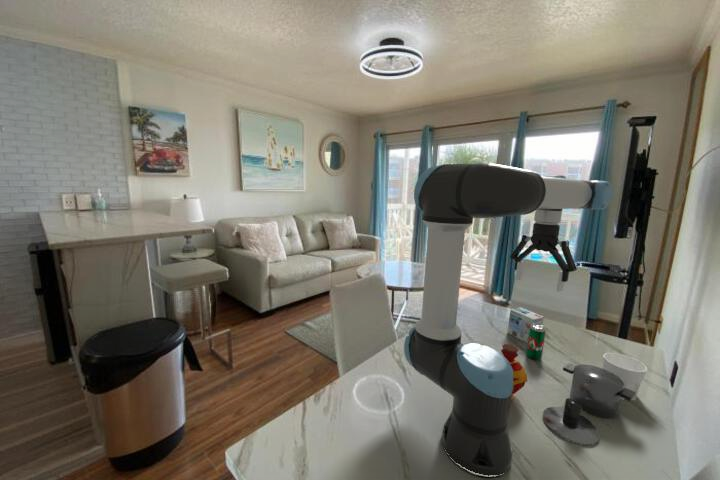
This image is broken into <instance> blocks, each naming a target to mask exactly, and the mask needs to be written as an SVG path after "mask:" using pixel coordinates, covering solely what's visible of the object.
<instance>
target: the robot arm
mask: <svg viewBox="0 0 720 480" xmlns="http://www.w3.org/2000/svg"><path fill="white" fill-rule="evenodd" d="M612 196H613V185H612V184H611V182H610V181H608V180H607V181H606V180H598V179H597V180H596V179H595V180H583V179H572V178H567V176H565V175H561V174H560V175H556V174H547V175H546V174H545V175H544V174H543V175H540V173H538V172H536V171H534V170H531V169H524V168H520V167H514V166H511V165H509V166H508V165H503V164H498V163H492V162H491V163H490V162H478V163H449V164H448V163H446V164H445V163H444V164H440V165H433V166H430V167H429V168H426V169H425V170H424V172H423V173H422V174H420V176H419V177H418V178H417V181H416V183H415V186H414V190H413V198H414V199H413V200H414V203H415V205H416V207H417V209H418V210H419V211H420V212H422V222H423V223H424V225H425V226H426V227H427V238H426V250H425V251H426V253H425V265H424V279H423V293H422V295H423V296H422V307H421V318H420V319H418V321H416V322H415V325H414V326H413V327H412V328H410V330H409V332H408V336H405V339H404V340H405V341H404V344H403V351H404V357H405V359H406V361H407V363H408V364H409V365H410V366H411V367H412V368H413V369H414V370H415V371H416V372H417V373H419V374H420V375H422V376H424V377H426V378H427V379H429V381H432V382H433V383H434V384H436V386H438V387H439V388H441V389H442V390H444V391H445V392H446V393H448V394H450V395H451V396H452V398H453V399H452V410H451V411H450V413H449V416H448V417H447V419H446V420H445V423H444V425H443V427H442V431H441V432H442V434H441V444H442V443H443V445H442V447H443V446H444V448H445V450H446V452H447V453H448V454H449V456H450V457H451V458H452V459H453V460H454V461H455V462H456V463H458V464H460V465H461V466H462V467H465V468H466V469H468V470H470V471H473V472H475V473H479V474H483V475H488V476H489V475H500V474H503V473H505V472H506V471H507V470H508V469H509V470H510V468H511V466H510V465H512V461H513V460H512V459H513V448H512V445H511V439H510V435H509V432H508V422H509V421H508V420H509V417H510V416H509V415H510V408H511V401H512V400H511V395H513V394H512V391H513V369H512V367H511V364H510V363H509V361H508V360H507V359H506V358H505V357H504V355H503V354H502V352H499V351H498V350H496V349H495V348H493V347H491V346H488V345H485V344H483V345H481V344H479V343H477V342H469V343H465V344H463V343H462V333H463V332H462V329H461V327H460V326H459V325H458V324H457V317H458V307H459V298H460V297H459V296H460V287H461V286H460V284H461V277H462V276H461V274H462V263H463V254H464V245H465V235H466V233H465V232H466V230H468V228H470V227H471V226H472V225H473V221H474V219H495V218H503V217H512V216H514V217H515V216H524V215H525V216H526V215H529V214H533V213H534V217H533V221H534V223H533V226H532V233H531V234H532V235H529V234H523V235H522V236H521V239H520V242H519V243H518V245H517V246H516V247H515V249H514V250H513V252H512V253H511V254H510V256H509V257H510V259H511V260H514V270H516V272H515V281H520V280H522V277H523V271H524V264H525V263H524V261H523V259H525V258H526V257H527V256H529V255H530V254H531V253H532V252H533V251H535V250H536V251H542V252H545V253H547V252H549V253H550V255H552V257H553V259H554V261H556V263H557V265H558V266H559V269H560V271H559V273H558V279H557V285H556V292H562V291H564V285H565V283H566V282H568V280H569V274H570V273H572V272H575V271H578V268H577V266H576V262H575V260H574V258H573V254H572V252H571V250H570V241H569V240H568V239H565V240H559V236H560V228H561V225H560V223H561V222H562V221H561V220H562V214H563V210H565V209H566V210H568V209H569V210H571V209H573V210H575V209H577V210H578V209H579V210H580V209H583V210H592V211H594V210H599V211H600V210H605V209H606V208H608V207H609V205H610V203H611V200H612ZM528 242H531V245H529V246H528V248H526V249H524V248H525V246H526V245H527V244H528ZM558 245H559V247H560V248H561V252H562V254H563V257H564V258H563V257H562V255H561V253H560V252H559V249H558V248H557V246H558ZM523 249H524V250H523ZM522 250H523V252H522ZM444 448H443V449H444ZM445 450H444V451H445ZM446 452H445V453H446ZM509 467H510V468H509ZM509 470H508V471H509ZM508 471H507V472H508ZM507 472H506V473H507ZM506 473H505V474H506Z"/></svg>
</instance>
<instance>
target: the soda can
mask: <svg viewBox="0 0 720 480" xmlns="http://www.w3.org/2000/svg"><path fill="white" fill-rule="evenodd" d="M545 338H546V327H545V326H544V325H543V326H542V325H540V324H531V326H530V327H529V334H528V341H527V343H526V348H525V349H526V350H525V355H526V357H527V358H528V359H531V360H535V361H539V360H541V359H542V358H543V351H544V345H545Z"/></svg>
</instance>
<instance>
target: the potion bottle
mask: <svg viewBox="0 0 720 480" xmlns="http://www.w3.org/2000/svg"><path fill="white" fill-rule="evenodd" d="M518 351H519V349H518V347H517V346H515V345H513V344H510V343H506V344H505V343H504V344H502V349H501V350H500V353H501V354H502V355H503V356H504V357H505V358H506V359H507V360H508V361H509V363H510V364H511V367H512V369H513V391H512V395H511V401H512V400H514V399H515V397H514V394H516V393H518V392H519V391H521V389H522V388H524V387H525V384H526V382H527V383H528V374H527V373H526V370H525V368H524V366H523V365H522V364H521V362H520V361H518V360H516V358H517V357H519V354H518Z"/></svg>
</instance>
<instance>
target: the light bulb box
mask: <svg viewBox="0 0 720 480" xmlns="http://www.w3.org/2000/svg"><path fill="white" fill-rule="evenodd" d="M544 317H545V316H544V315H540V314H538V313H535V312H533V311H531V310H528V309H526V308H523V307H517V308H511V309H510V311H509V318H508V326H507V330H506V331H507V333H508V334H509V335H511V336H512V337H514V338H516V339H518V340H520V341H522V342H524V343H525V344H527V341H528V334H529V327H530V326H531V324H540V325H542V326H544V319H545V318H544Z"/></svg>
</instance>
